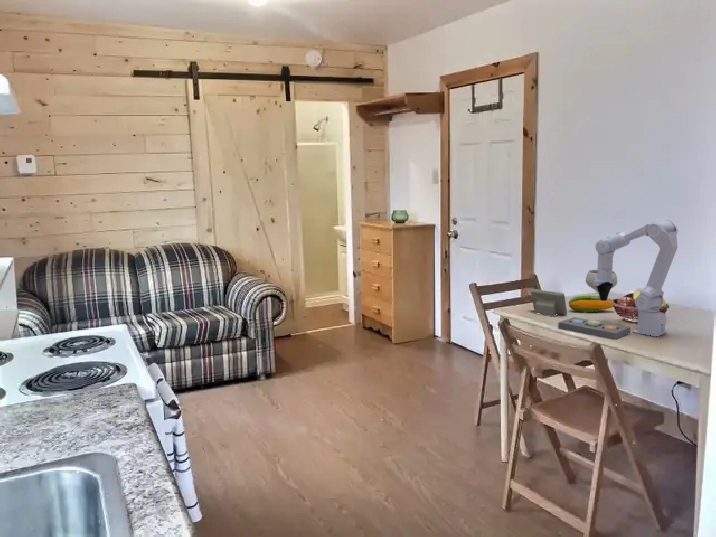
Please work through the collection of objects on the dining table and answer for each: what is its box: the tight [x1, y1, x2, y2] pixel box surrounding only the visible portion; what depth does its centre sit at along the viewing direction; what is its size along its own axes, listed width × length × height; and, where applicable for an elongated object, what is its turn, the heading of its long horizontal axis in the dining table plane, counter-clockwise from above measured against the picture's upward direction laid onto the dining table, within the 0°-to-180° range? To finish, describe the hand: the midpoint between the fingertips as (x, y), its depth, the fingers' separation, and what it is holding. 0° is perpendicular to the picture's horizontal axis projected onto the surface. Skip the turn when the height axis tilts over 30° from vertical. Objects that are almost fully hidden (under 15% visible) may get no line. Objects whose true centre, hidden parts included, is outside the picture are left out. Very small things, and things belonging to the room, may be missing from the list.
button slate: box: [572, 319, 583, 324], centre depth 253 cm, size 4×4×2 cm
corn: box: [568, 295, 614, 313], centre depth 279 cm, size 7×8×20 cm
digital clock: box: [530, 288, 568, 317], centre depth 277 cm, size 16×9×11 cm, turn 33°
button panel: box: [557, 316, 631, 340], centre depth 247 cm, size 24×12×2 cm, turn 41°
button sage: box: [587, 319, 601, 327], centre depth 247 cm, size 4×4×2 cm
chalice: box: [585, 269, 618, 302], centre depth 295 cm, size 14×14×15 cm
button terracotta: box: [604, 325, 617, 330], centre depth 242 cm, size 4×4×2 cm
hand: (603, 300), depth 259 cm, fingers closed
